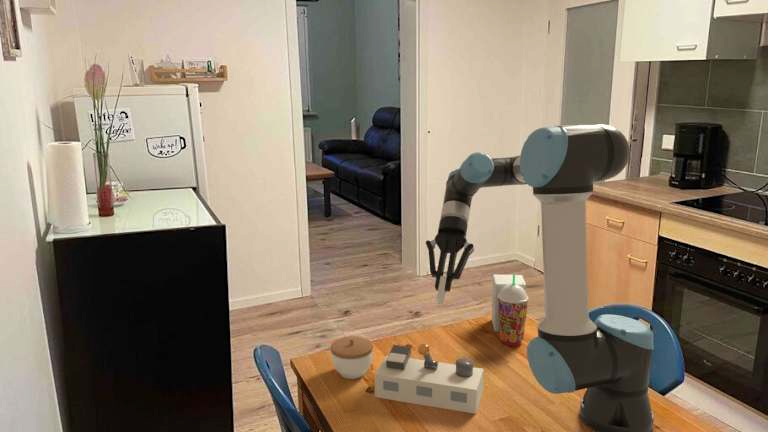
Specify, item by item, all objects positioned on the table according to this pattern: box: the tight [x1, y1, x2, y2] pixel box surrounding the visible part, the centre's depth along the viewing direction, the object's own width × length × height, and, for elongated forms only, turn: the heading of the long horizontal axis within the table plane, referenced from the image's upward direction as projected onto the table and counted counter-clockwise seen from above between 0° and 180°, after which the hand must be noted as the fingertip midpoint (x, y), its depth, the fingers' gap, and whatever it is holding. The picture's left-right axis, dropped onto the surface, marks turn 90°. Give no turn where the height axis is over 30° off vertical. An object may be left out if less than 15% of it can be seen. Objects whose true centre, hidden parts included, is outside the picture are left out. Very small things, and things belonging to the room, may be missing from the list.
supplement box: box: [491, 274, 527, 332], centre depth 176 cm, size 9×9×15 cm
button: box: [455, 357, 474, 377], centre depth 138 cm, size 4×4×3 cm
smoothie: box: [498, 274, 529, 347], centre depth 165 cm, size 8×8×20 cm
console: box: [374, 354, 484, 415], centre depth 140 cm, size 24×10×6 cm, turn 72°
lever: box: [417, 343, 439, 369], centre depth 136 cm, size 3×3×13 cm
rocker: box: [386, 344, 412, 370], centre depth 143 cm, size 4×6×2 cm
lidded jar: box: [330, 335, 374, 380], centre depth 150 cm, size 11×11×9 cm
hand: (440, 302), depth 147 cm, fingers closed
